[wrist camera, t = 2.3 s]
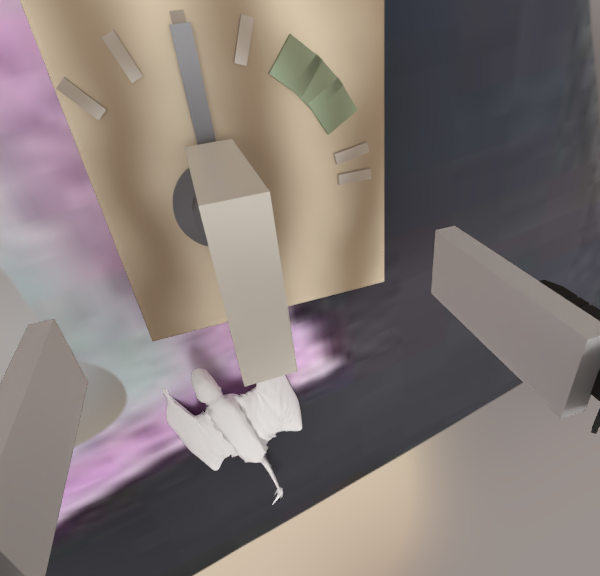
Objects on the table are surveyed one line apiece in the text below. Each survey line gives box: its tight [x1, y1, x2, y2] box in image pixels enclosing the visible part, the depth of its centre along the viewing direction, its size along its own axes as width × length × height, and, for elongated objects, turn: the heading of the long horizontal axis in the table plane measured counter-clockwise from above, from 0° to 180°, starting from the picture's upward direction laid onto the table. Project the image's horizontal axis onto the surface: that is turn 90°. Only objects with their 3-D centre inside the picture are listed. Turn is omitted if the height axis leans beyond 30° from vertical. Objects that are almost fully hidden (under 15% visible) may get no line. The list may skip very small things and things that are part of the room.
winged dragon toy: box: [162, 368, 302, 505], centre depth 34 cm, size 18×10×4 cm, turn 19°
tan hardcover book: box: [20, 0, 384, 341], centre depth 23 cm, size 16×22×3 cm
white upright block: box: [169, 22, 298, 387], centre depth 18 cm, size 5×12×10 cm, turn 6°
